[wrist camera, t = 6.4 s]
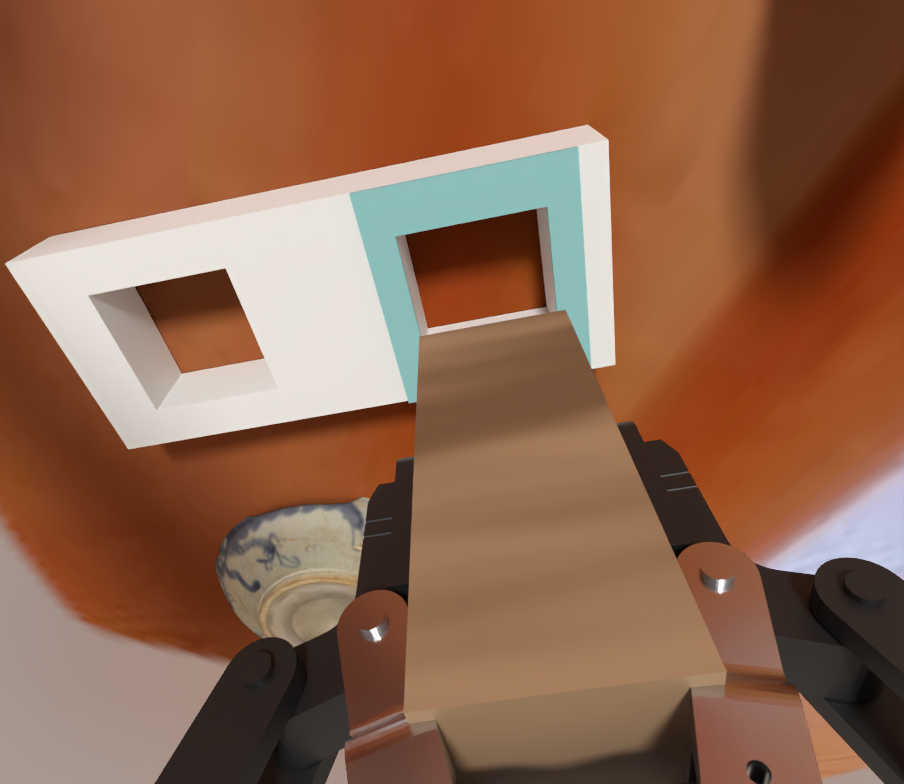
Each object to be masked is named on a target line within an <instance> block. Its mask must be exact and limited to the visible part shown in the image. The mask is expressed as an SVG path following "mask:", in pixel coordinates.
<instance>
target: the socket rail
mask: <svg viewBox="0 0 904 784" xmlns="http://www.w3.org/2000/svg"><path fill="white" fill-rule="evenodd" d="M532 209H536V210H537V220H538V229H539V239H540V248H541V258H542V268H543V277H544V287H545V296H546V306H547V307H543V308H537V309H532V310H526V311H521V312H515V313H510V314H504V315H499V316H494V317H488V318H483V319H477V320H472V321H466V322H461V323H455V324H450V325H445V326H439V327H434V328H428V327H427V323H426V319H425V315H424V311H423V306H422V302H421V298H420V294H419V290H418V286H417V281H416V277H415V273H414V269H413V265H412V261H411V256H410V252H409V248H408V244H407V240H406V236H405V235H406V234H411V233H416V232H421V231H426V230H431V229H436V228H441V227H446V226H451V225H456V224H461V223H466V222H471V221H477V220H482V219H487V218H492V217H497V216H502V215H507V214H512V213H517V212H522V211H527V210H532ZM5 265H6V266H7V268H8V269H9V271H10V272H11V274H12V275H13V277H14V278H15V280H16V281H17V283H18V284H19V286H20V287H21V289H22V290H23V292H24V293H25V295H26V296H27V298H28V299H29V301H30V302H31V304H32V305H33V307H34V308H35V310H36V311H37V313H38V314H39V316H40V317H41V319H42V320H43V322H44V323H45V325H46V326H47V328H48V329H49V331H50V332H51V334H52V335H53V337H54V338H55V340H56V341H57V343H58V344H59V346H60V347H61V349H62V350H63V352H64V353H65V355H66V356H67V358H68V359H69V361H70V362H71V364H72V365H73V367H74V368H75V370H76V371H77V373H78V374H79V376H80V377H81V379H82V381H83V382H84V384H85V385H86V387H87V388H88V390H89V391H90V393H91V394H92V396H93V397H94V399H95V400H96V402H97V403H98V405H99V406H100V408H101V409H102V411H103V412H104V414H105V415H106V417H107V418H108V420H109V421H110V423H111V424H112V426H113V427H114V429H115V430H116V432H117V433H118V435H119V436H120V438H121V439H122V441H123V442H124V444H125V445H126V447H127V448H128V449H134V448H139V447H145V446H151V445H157V444H162V443H168V442H174V441H180V440H185V439H191V438H197V437H203V436H209V435H214V434H220V433H226V432H232V431H237V430H243V429H249V428H255V427H260V426H266V425H272V424H278V423H283V422H289V421H295V420H301V419H306V418H312V417H318V416H324V415H329V414H335V413H341V412H347V411H352V410H358V409H364V408H370V407H375V406H381V405H387V404H393V403H398V402H404V401H408V402H409V403H413V402H417V378H418V354H419V336H424V335H430V334H435V333H441V332H446V331H452V330H457V329H462V328H468V327H473V326H479V325H484V324H490V323H495V322H501V321H506V320H512V319H517V318H523V317H528V316H534V315H539V314H545V313H550V312H556V311H561V310H566V312H567V314H568V316H569V319H570V321H571V323H572V325H573V328H574V330H575V332H576V334H577V337H578V339H579V341H580V343H581V345H582V348H583V350H584V352H585V354H586V357H587V359H588V361H589V363H590V366H591V368H592V369H594V368H600V367H606V366H611V365H615V338H614V306H613V274H612V242H611V210H610V178H609V146H608V139H607V138H605V137H604V136H603V135H601V134H600V133H598V132H597V131H596V130H594V129H593V128H592V127H590V126H589V125H584V126H579V127H575V128H570V129H565V130H560V131H555V132H551V133H546V134H541V135H536V136H531V137H527V138H522V139H517V140H512V141H507V142H503V143H498V144H493V145H488V146H483V147H478V148H474V149H469V150H464V151H459V152H454V153H450V154H445V155H440V156H435V157H430V158H426V159H421V160H416V161H411V162H406V163H402V164H397V165H392V166H387V167H382V168H378V169H373V170H368V171H363V172H358V173H353V174H349V175H344V176H339V177H334V178H329V179H325V180H320V181H315V182H310V183H305V184H301V185H296V186H291V187H286V188H281V189H277V190H272V191H267V192H262V193H257V194H252V195H248V196H243V197H238V198H233V199H228V200H224V201H219V202H214V203H209V204H204V205H200V206H195V207H190V208H185V209H180V210H176V211H171V212H166V213H161V214H156V215H152V216H147V217H142V218H137V219H132V220H127V221H123V222H118V223H113V224H108V225H103V226H99V227H94V228H89V229H84V230H79V231H75V232H70V233H65V234H60V235H55V236H51V237H49V238H47V239H45V240H44V241H42V242H40V243H39V244H37V245H35V246H34V247H32V248H30V249H29V250H27V251H25V252H24V253H22V254H20V255H18V256H17V257H15V258H13V259H12V260H10V261H8V262H7V263H5ZM225 268H226V271H227V273H228V275H229V277H230V280H231V282H232V284H233V287H234V289H235V291H236V294H237V296H238V298H239V300H240V303H241V305H242V307H243V310H244V312H245V314H246V316H247V319H248V321H249V323H250V326H251V328H252V330H253V332H254V335H255V337H256V339H257V342H258V344H259V346H260V348H261V351H262V353H263V355H264V358H265V359H259V360H254V361H248V362H243V363H238V364H232V365H227V366H221V367H216V368H210V369H205V370H199V371H194V372H189V373H183V374H182V373H181V371H180V369H179V367H178V366H177V364H176V362H175V360H174V358H173V356H172V355H171V353H170V351H169V349H168V347H167V345H166V343H165V342H164V340H163V338H162V336H161V334H160V332H159V331H158V329H157V327H156V325H155V323H154V321H153V320H152V318H151V316H150V314H149V312H148V310H147V308H146V307H145V305H144V303H143V301H142V299H141V297H140V296H139V294H138V292H137V290H136V288H135V286H139V285H144V284H149V283H154V282H159V281H164V280H169V279H174V278H180V277H185V276H190V275H195V274H200V273H205V272H210V271H215V270H220V269H225Z"/></svg>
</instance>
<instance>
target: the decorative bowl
mask: <svg viewBox="0 0 904 784" xmlns="http://www.w3.org/2000/svg"><path fill="white" fill-rule="evenodd" d="M369 500H370V499H369V498H365V497H360V498H358V499H356V500H354V501H352V502H349V503H337V504H305V505H299V506H293V507H286V508H281V509H278V510H275V511H271V512H268V513H265V514H261V515H257V516H249V517H247V518H245V519H244V520H243V521H241V522H240V523H239V524H237V525H236V526H235V527H234V528H233V529H232V530H231V531H230V532H229V533H228V534H227V536H226V537H225V539H224V540H223V542H222V544H221V546H220V548H219V552H220V555H218V556H217V559H216V570H217V576H218V579H219V582H220V584H221V587H222V589H223V591H224V594H225V596H226V598H227V600H228V602H229V604H230V606H231V608H232V609H233V611H234V612H235V614H236V615H237V616H238V618H239V619H240V620H241V621H242V622H243V623H244V624H245V625H246V626H247V627H248V628H249V629H251V630H252V631H253V632H254V633H256V634H257V635H258V636H260V637H261V638H267V637H279V638H282V639H285V640H286V641H288V642H289V643H290V644H291V645H292V646H293V647H295V646H298V645H300V644H302V643H304V642H306V641H308V640H311V639H313V638H315V637H317V636H319V635H322V634H323V633H325V632H327V631H329V630H330V629H332V628H333V627H335V626H336V625H337V624H338V622H339V619H340V616H341V614H342V613H343V611H344V610H345V608H346V607H347V606H348V605H349V604H350V603H351V602H352V601H353V600H354V599H355V595H356V589H357V582H358V574H359V567H360V559H361V551H362V544H363V539H364V528H365V524H366V513H367V506H368V501H369Z"/></svg>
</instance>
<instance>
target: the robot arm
mask: <svg viewBox="0 0 904 784" xmlns="http://www.w3.org/2000/svg"><path fill="white" fill-rule="evenodd" d="M617 426H618V429H619V431H620V433H621V435H622V438H623V440H624V442H625V444H626V446H627V449H628V451H629V453H630V455H631V458H632V460H633V462H634V464H635V467H636V469H637V471H638V473H639V476H640V478H641V480H642V482H643V485H644V487H645V489H646V491H647V494H648V496H649V498H650V500H651V503H652V505H653V507H654V509H655V512H656V514H657V516H658V518H659V521H660V523H661V525H662V527H663V530H664V532H665V534H666V536H667V538H668V541H669V543H670V545H671V547H672V550H673V552H674V554H675V556H676V559H677V561H678V563H679V565H680V568H681V570H682V572H683V574H684V577H685V579H686V581H687V583H688V586H689V588H690V590H691V592H692V595H693V597H694V599H695V601H696V604H697V606H698V608H699V610H700V613H701V615H702V617H703V619H704V622H705V624H706V626H707V628H708V630H709V633H710V635H711V637H712V639H713V642H714V644H715V646H716V648H717V651H718V653H719V655H720V657H721V660H722V662H723V664H724V666H725V669H726V671H727V673H726V680H725V684H724V685H710V686H699V687H691V693H690V705H689V716H688V727H687V739H686V750H685V761H684V773H683V783H681V784H822V780H821V776H820V772H819V768H818V764H817V760H816V756H815V752H814V748H813V744H812V740H811V736H810V733H809V729H808V725H807V721H806V717H805V713H804V709H803V705H802V702H801V699H800V696H799V693H801V694H802V695H803V697H804V698H805V699H806V700H807V701H808V702H809V703H810V704H811V705H812V706H813V707H814V709H815V710H816V711H817V712H818V713H819V714H820V715H821V716H822V717H823V718H824V719H825V720H826V721H827V722H828V724H829V725H830V726H831V727H832V728H833V729H834V730H835V731H836V732H837V733H838V734H839V735H840V736H841V738H842V739H843V740H844V741H845V742H846V743H847V744H848V745H849V746H850V747H851V748H852V749H853V750H854V751H855V753H856V754H857V755H858V756H859V757H860V758H861V759H862V760H863V761H864V762H865V763H866V764H867V765H868V766H869V768H870V769H871V770H872V771H873V772H874V773H875V774H876V775H877V776H878V777H879V778H880V779H881V780H882V781H883V783H884V784H904V580H902V579H901V578H900V577H898V576H897V575H896V574H894V573H893V572H891V571H890V570H888V569H886V568H884V567H882V566H880V565H878V564H875V563H873V562H870V561H866V560H862V559H857V558H838V559H833V560H830V561H827V562H826V563H824V564H823V565H821V566H820V567H819V568H818V570H817V572H816V574H815V575H811V574H803V573H796V572H788V571H780V570H774V569H770V568H766V567H763V566H760V565H758V564H755V563H754V562H753V561H752V560H751V559H750V558H749V557H748V556H747V555H746V554H744V553H743V552H741V551H740V550H738V549H736V548H734V547H732V546H731V545H730V543H729V542H728V540H727V539H726V537H725V535H724V534H723V532H722V530H721V528H720V526H719V525H718V523H717V521H716V519H715V517H714V516H713V514H712V512H711V510H710V508H709V507H708V505H707V503H706V501H705V499H704V498H703V496H702V494H701V492H700V490H699V489H698V488H697V487H696V483H695V481H694V480H693V478H692V476H691V474H689V472H688V469H687V467H686V465H685V464H684V462H683V460H682V458H681V456H680V455H679V453H678V452H677V451H675V450H674V449H673V448H671V447H670V446H669V445H667V444H666V443H665V442H663V441H662V440H661V439H660V440H654V441H648V442H643V440H642V438H641V436H640V433H639V431H638V429H637V427H636V425H635V424H634V422H633V421H630V422H624V423H618V424H617ZM413 474H414V457H409V458H403V459H398V460H397V464H396V476H395V482H392V483H386V484H380V485H378V487H377V488H376V490H375V492H374V493H373V495H372V496H371V498H370V500H369V501H368V506H367V513H366V524H365V528H364V539H363V544H362V551H361V559H360V567H359V574H358V582H357V589H356V595H355V599H354V600H353V601H352V602H351V603H350V604H349V605H348V606H347V607H346V608H345V610H344V611H343V613H342V614H341V616H340V619H339V622H338V624H337V625H336V626H335V627H333V628H332V629H330V630H329V631H327V632H325V633H323V634H322V635H319V636H317V637H315V638H313V639H311V640H308V641H306V642H304V643H302V644H300V645H298V646H295V647H293V646H292V645H291V644H290V643H289V642H288V641H286V640H285V639H282V638H279V637H267V638H263V639H260V640H257V641H255V642H253V643H251V644H249V645H248V646H246V647H245V648H244V649H242V650H241V651H240V652H239V653H238V654H237V655H236V656H235V657H234V658H233V659H232V661H231V662H230V664H229V665H228V666H227V668H226V670H225V671H224V673H223V675H222V676H221V678H220V680H219V681H218V683H217V684H216V686H215V687H214V689H213V691H212V692H211V694H210V696H209V697H208V699H207V700H206V702H205V703H204V705H203V707H202V708H201V710H200V712H199V713H198V715H197V716H196V718H195V720H194V721H193V723H192V724H191V726H190V728H189V729H188V731H187V732H186V734H185V736H184V737H183V739H182V740H181V742H180V744H179V745H178V747H177V749H176V750H175V752H174V753H173V755H172V757H171V758H170V760H169V761H168V763H167V765H166V766H165V768H164V769H163V771H162V773H161V775H160V776H159V777H158V779H157V781H156V782H155V784H325V783H326V780H327V778H328V775H329V773H330V771H331V768H332V766H333V764H334V761H335V759H336V756H337V754H338V751H339V750H341V749H343V748H345V763H346V771H347V779H348V784H462V783H461V781H460V778H459V776H458V774H457V771H456V769H455V766H454V764H453V761H452V759H451V757H450V754H449V752H448V749H447V747H446V744H445V742H444V739H443V737H442V735H441V732H440V730H439V727H438V725H437V722H436V720H429V721H423V722H417V723H411V724H409V723H408V721H407V719H406V717H405V715H404V689H405V665H406V642H407V618H408V594H409V570H410V546H411V522H412V498H413ZM798 692H799V693H798Z"/></svg>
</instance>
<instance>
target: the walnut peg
mask: <svg viewBox="0 0 904 784" xmlns="http://www.w3.org/2000/svg"><path fill="white" fill-rule="evenodd" d="M726 673H727V671H726V669H725V666H724V664H723V662H722V660H721V657H720V655H719V653H718V651H717V648H716V646H715V644H714V642H713V639H712V637H711V635H710V633H709V630H708V628H707V626H706V624H705V622H704V619H703V617H702V615H701V613H700V610H699V608H698V606H697V604H696V601H695V599H694V597H693V595H692V592H691V590H690V588H689V586H688V583H687V581H686V579H685V577H684V574H683V572H682V570H681V568H680V565H679V563H678V561H677V559H676V556H675V554H674V552H673V550H672V547H671V545H670V543H669V541H668V538H667V536H666V534H665V532H664V530H663V527H662V525H661V523H660V521H659V518H658V516H657V514H656V512H655V509H654V507H653V505H652V503H651V500H650V498H649V496H648V494H647V491H646V489H645V487H644V485H643V482H642V480H641V478H640V476H639V473H638V471H637V469H636V467H635V464H634V462H633V460H632V458H631V455H630V453H629V451H628V449H627V446H626V444H625V442H624V440H623V438H622V435H621V433H620V431H619V429H618V426H617V424H616V422H615V420H614V417H613V415H612V413H611V411H610V408H609V406H608V404H607V402H606V399H605V397H604V395H603V393H602V390H601V388H600V386H599V384H598V381H597V379H596V377H595V375H594V372H593V370H592V368H591V366H590V363H589V361H588V359H587V357H586V354H585V352H584V350H583V348H582V345H581V343H580V341H579V339H578V337H577V334H576V332H575V330H574V328H573V325H572V323H571V321H570V319H569V316H568V314H567V312H566V310H561V311H556V312H550V313H545V314H539V315H534V316H528V317H523V318H517V319H512V320H506V321H501V322H495V323H490V324H484V325H479V326H473V327H468V328H462V329H457V330H452V331H446V332H441V333H435V334H430V335H424V336H419V354H418V378H417V402H416V426H415V450H414V474H413V498H412V522H411V546H410V570H409V594H408V618H407V642H406V665H405V689H404V715H405V717H406V719H407V721H408V723H409V724H411V723H417V722H423V721H429V720H436V722H437V725H438V727H439V730H440V732H441V735H442V737H443V739H444V742H445V744H446V747H447V749H448V752H449V754H450V757H451V759H452V761H453V764H454V766H455V769H456V771H457V774H458V776H459V778H460V781H461V783H462V784H681V783H683V773H684V761H685V750H686V739H687V727H688V716H689V705H690V693H691V687H699V686H710V685H724V684H725V680H726Z"/></svg>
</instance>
